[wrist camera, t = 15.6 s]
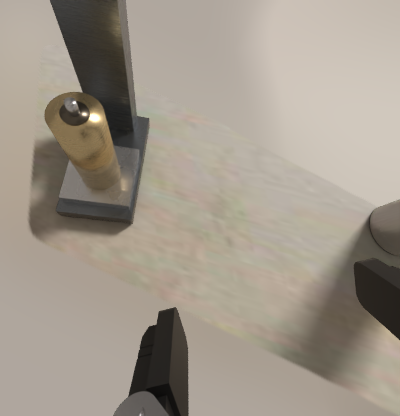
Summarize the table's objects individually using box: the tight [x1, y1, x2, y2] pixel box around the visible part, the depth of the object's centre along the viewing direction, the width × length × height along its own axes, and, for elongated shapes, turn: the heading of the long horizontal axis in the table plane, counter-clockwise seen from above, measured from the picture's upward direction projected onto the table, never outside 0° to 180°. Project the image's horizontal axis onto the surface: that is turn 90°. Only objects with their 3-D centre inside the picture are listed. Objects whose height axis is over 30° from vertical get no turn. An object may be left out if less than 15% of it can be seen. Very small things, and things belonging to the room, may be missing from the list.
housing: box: [45, 92, 120, 190], centre depth 28 cm, size 5×5×14 cm
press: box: [50, 0, 149, 224], centre depth 23 cm, size 18×18×34 cm
